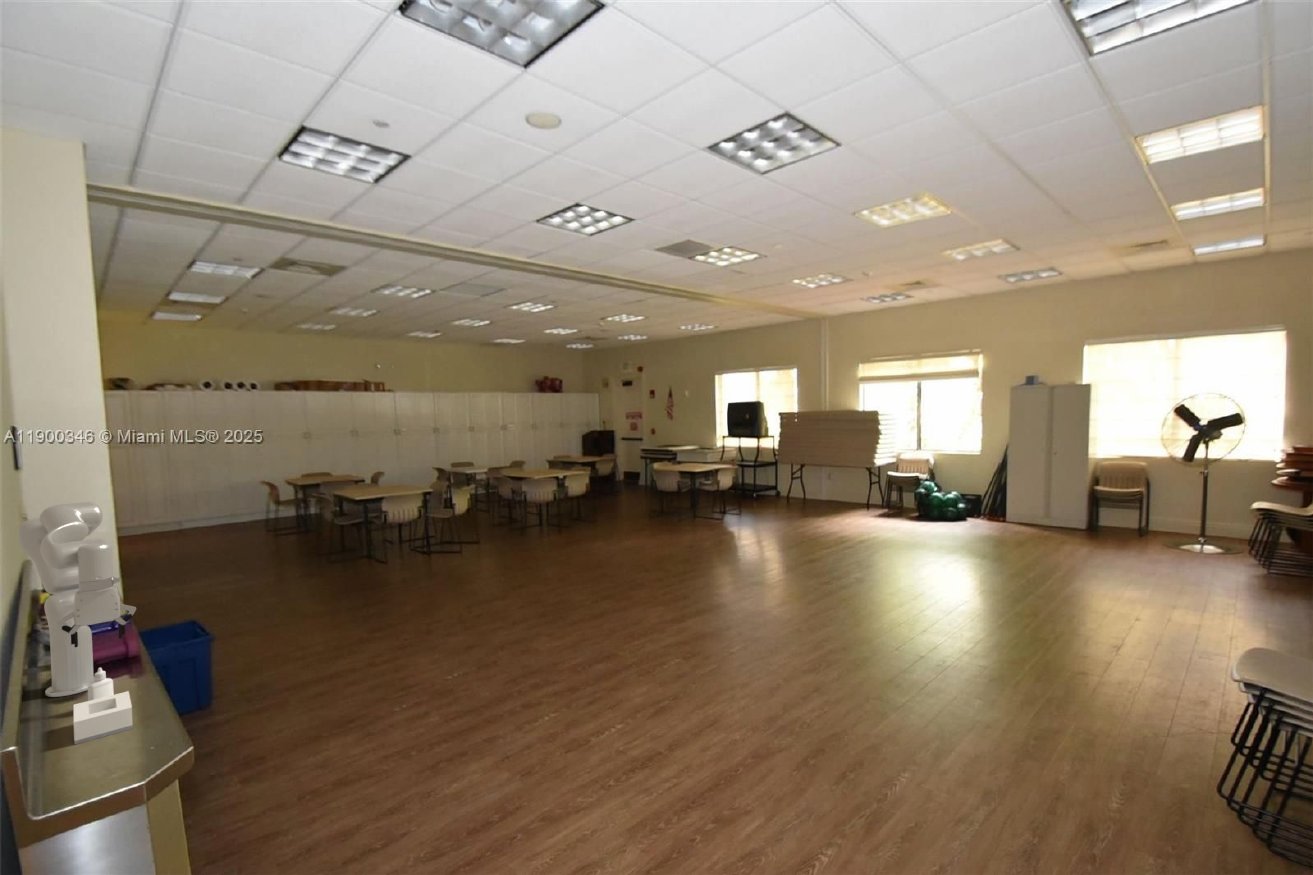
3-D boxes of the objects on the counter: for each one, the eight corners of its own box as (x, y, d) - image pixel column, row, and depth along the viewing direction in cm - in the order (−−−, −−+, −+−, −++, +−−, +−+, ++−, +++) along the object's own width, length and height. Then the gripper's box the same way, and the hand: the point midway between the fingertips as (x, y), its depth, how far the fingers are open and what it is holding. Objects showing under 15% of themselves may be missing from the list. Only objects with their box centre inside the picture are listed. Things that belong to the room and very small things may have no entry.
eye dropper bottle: (114, 706, 179) (112, 667, 178) (88, 713, 175) (86, 673, 174) (113, 702, 182) (112, 663, 181) (88, 708, 178) (86, 668, 178)
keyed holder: (74, 725, 168) (73, 704, 168) (129, 711, 176) (128, 691, 176) (74, 744, 158) (73, 722, 158) (132, 728, 166) (131, 707, 166)
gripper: (134, 576, 186) (136, 631, 186) (55, 588, 174) (57, 646, 174) (135, 581, 180) (138, 637, 181) (54, 593, 168) (57, 653, 169)
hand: (98, 641), depth 178 cm, fingers open, 9 cm apart
